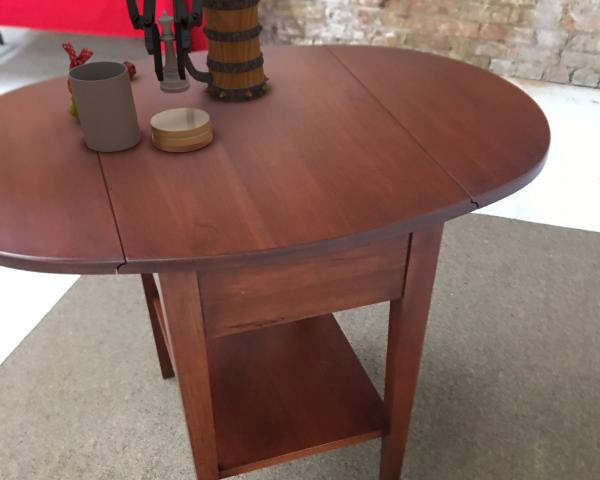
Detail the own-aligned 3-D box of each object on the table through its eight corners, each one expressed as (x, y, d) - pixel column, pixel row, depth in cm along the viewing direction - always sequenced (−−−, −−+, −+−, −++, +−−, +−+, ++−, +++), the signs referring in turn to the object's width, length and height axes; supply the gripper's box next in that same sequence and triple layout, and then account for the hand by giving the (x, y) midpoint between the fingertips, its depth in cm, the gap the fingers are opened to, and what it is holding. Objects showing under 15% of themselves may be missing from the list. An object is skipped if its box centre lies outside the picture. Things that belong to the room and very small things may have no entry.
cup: (119, 155, 94) (102, 84, 87) (74, 146, 97) (55, 76, 90) (151, 133, 99) (138, 65, 92) (108, 125, 102) (93, 58, 95)
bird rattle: (65, 126, 108) (76, 120, 100) (40, 53, 103) (49, 41, 95) (101, 118, 110) (113, 111, 102) (77, 47, 105) (89, 34, 98)
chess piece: (188, 93, 91) (177, 15, 84) (158, 94, 91) (144, 15, 84) (192, 83, 94) (182, 6, 87) (162, 83, 94) (150, 6, 87)
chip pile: (139, 143, 97) (135, 123, 95) (181, 122, 102) (178, 103, 100) (185, 158, 93) (182, 137, 91) (226, 135, 98) (224, 116, 96)
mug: (285, 95, 110) (281, -43, 96) (192, 114, 105) (172, -29, 91) (256, 73, 118) (248, -57, 104) (168, 89, 113) (146, -45, 99)
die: (137, 75, 119) (134, 57, 117) (137, 80, 117) (133, 63, 114) (121, 76, 118) (118, 58, 116) (121, 81, 116) (117, 64, 114)
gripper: (215, -77, 92) (228, 86, 92) (107, -72, 91) (120, 91, 91) (210, -119, 84) (224, 58, 84) (93, -115, 83) (107, 64, 83)
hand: (170, 75), depth 88 cm, fingers closed on chess piece, 2 cm apart
